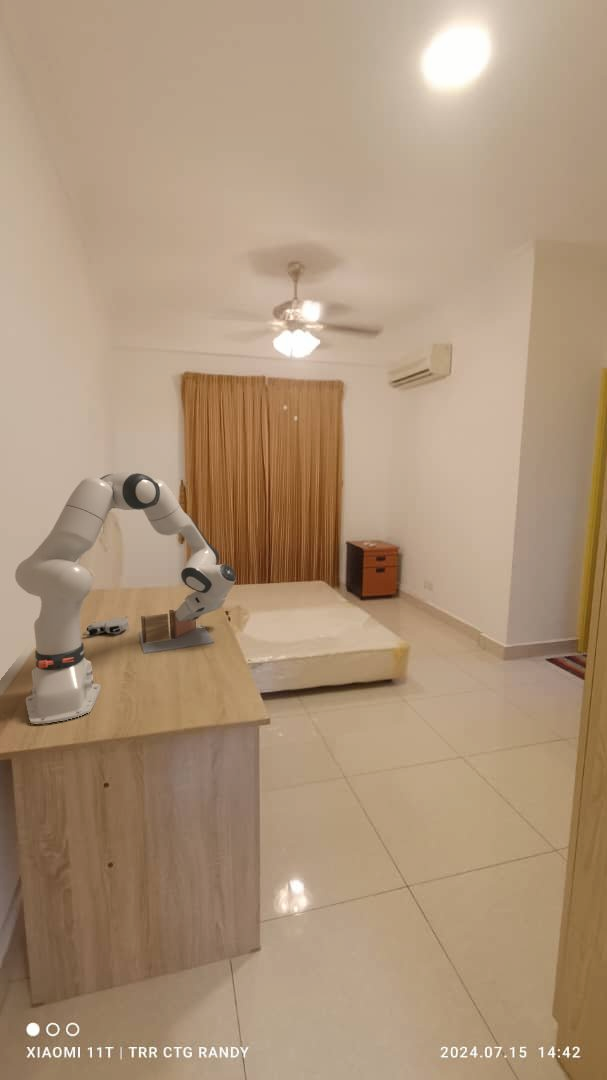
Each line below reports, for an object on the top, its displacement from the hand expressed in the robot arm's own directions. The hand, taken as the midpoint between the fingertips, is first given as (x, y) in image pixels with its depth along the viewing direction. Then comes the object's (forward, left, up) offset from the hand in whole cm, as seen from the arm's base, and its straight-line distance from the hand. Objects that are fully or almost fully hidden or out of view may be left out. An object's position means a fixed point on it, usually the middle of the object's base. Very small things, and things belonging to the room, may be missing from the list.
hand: (192, 618), depth 182 cm
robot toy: (+13, +30, -6) cm, 33 cm away
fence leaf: (0, +3, -5) cm, 6 cm away
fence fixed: (-5, +13, -5) cm, 15 cm away
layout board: (-4, +7, -5) cm, 9 cm away
